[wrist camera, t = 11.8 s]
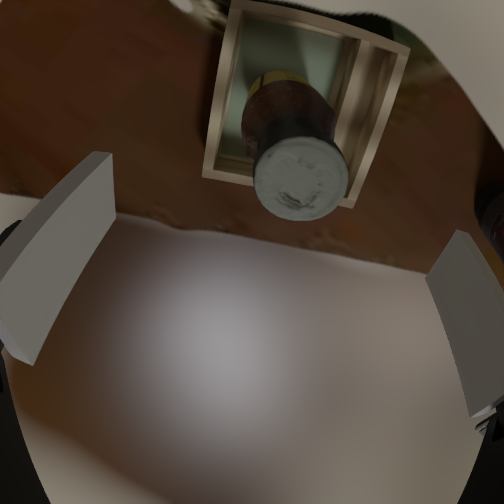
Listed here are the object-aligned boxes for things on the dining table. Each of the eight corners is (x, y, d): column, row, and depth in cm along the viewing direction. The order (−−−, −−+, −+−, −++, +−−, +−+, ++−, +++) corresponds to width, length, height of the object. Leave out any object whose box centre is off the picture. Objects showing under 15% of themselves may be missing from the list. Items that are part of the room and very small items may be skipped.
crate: (237, 2, 22) (232, -2, 19) (395, 46, 23) (410, 48, 20) (209, 161, 34) (201, 176, 30) (345, 190, 35) (352, 208, 32)
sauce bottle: (270, 136, 31) (263, 268, 15) (237, 87, 27) (183, 169, 12) (326, 107, 28) (389, 214, 13) (294, 55, 25) (328, 86, 10)
